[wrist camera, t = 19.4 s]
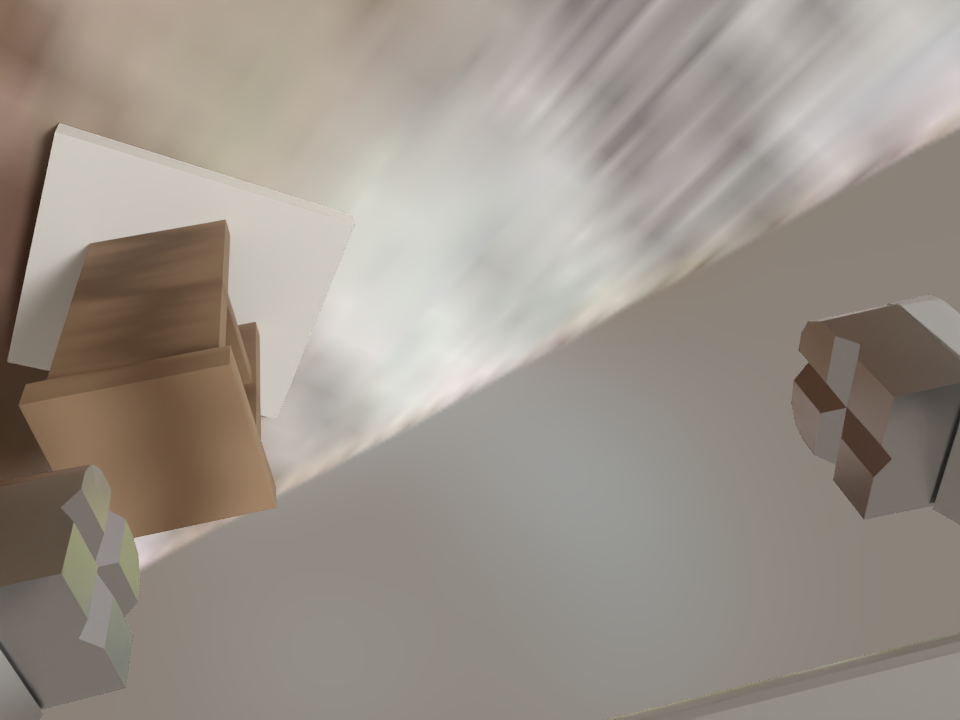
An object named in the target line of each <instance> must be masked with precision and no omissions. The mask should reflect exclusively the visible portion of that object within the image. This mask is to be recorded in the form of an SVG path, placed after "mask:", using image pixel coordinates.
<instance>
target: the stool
mask: <svg viewBox="0 0 960 720" xmlns="http://www.w3.org/2000/svg"><path fill="white" fill-rule="evenodd" d="M229 254H230V232H229V229H228V225H227V222H226V220H220V221H214V222H209V223H203V224H197V225H192V226H186V227H180V228H174V229H169V230H163V231H157V232H152V233H146V234H140V235H135V236H129V237H123V238H117V239H112V240H106V241H100V242H95V243H90V244H89V247H88V250H87V254H86V257H85V260H84V263H83V266H82V269H81V273H80V276H79V279H78V282H77V285H76V288H75V292H74V295H73V298H72V301H71V304H70V307H69V311H68V314H67V317H66V320H65V323H64V326H63V330H62V333H61V336H60V339H59V342H58V345H57V349H56V352H55V355H54V358H53V361H52V364H51V368H50V371H49V374H48V377H47V380H44V381H39V382H34V383H29V384H26V385H25V388H24V391H23V393H22V396H21V399H20V402H19V405H18V406H19V407H20V409H21V411H22V413H23V415H24V417H25V419H26V421H27V423H28V425H29V427H30V429H31V430H32V432H33V434H34V436H35V438H36V440H37V442H38V444H39V446H40V448H41V450H42V451H43V453H44V455H45V457H46V459H47V461H48V463H49V465H50V467H51V469H52V471H56V470H62V469H67V468H73V467H79V466H84V465H90V464H92V465H94V466H97V467H99V468H100V469H101V470H102V472H103V474H104V476H105V478H106V480H107V482H108V484H109V486H110V488H111V490H112V492H111V498H110V503H109V509H108V510H110V511H111V512H113V513H115V514H117V515H119V516H121V517H123V518H124V519H126V521H127V524H128V526H129V528H130V530H131V532H132V535H133V538H136V537H140V536H145V535H150V534H154V533H159V532H164V531H168V530H173V529H178V528H183V527H187V526H192V525H197V524H201V523H206V522H211V521H216V520H220V519H225V518H230V517H234V516H239V515H244V514H248V513H253V512H258V511H263V510H267V509H272V508H276V486H275V483H274V480H273V477H272V474H271V470H270V467H269V464H268V461H267V458H266V455H265V452H264V449H263V445H262V442H261V408H260V334H259V331H258V328H257V324H256V322H252V323H247V324H241V325H238V324H237V321H236V318H235V315H234V311H233V308H232V305H231V302H230V298H229V295H228V277H229Z"/></svg>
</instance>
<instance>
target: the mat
mask: <svg viewBox="0 0 960 720" xmlns="http://www.w3.org/2000/svg"><path fill="white" fill-rule="evenodd" d="M220 220H226V222H227V225H228V229H229V232H230V254H229V277H228V295H229V298H230V302H231V305H232V308H233V311H234V315H235V318H236V321H237V324H238V325H241V324H247V323H252V322H256V324H257V328H258V331H259V334H260V408H261V416H266V417H271V418H275V419H277V417H278V415H279V412H280V410H281V407H282V405H283V402H284V400H285V397H286V395H287V392H288V390H289V387H290V385H291V382H292V380H293V377H294V375H295V372H296V370H297V367H298V365H299V362H300V360H301V357H302V355H303V352H304V350H305V347H306V345H307V342H308V340H309V337H310V335H311V332H312V330H313V327H314V325H315V322H316V320H317V317H318V315H319V312H320V310H321V307H322V305H323V302H324V300H325V297H326V295H327V292H328V290H329V287H330V285H331V282H332V280H333V277H334V275H335V272H336V270H337V267H338V265H339V262H340V260H341V257H342V255H343V252H344V250H345V247H346V245H347V242H348V240H349V237H350V235H351V232H352V230H353V228H354V225H355V223H354V218H353V215H352V214H348V213H345V212H342V211H339V210H336V209H332V208H329V207H326V206H323V205H320V204H316V203H313V202H310V201H307V200H304V199H301V198H297V197H294V196H291V195H288V194H285V193H281V192H278V191H275V190H272V189H269V188H265V187H262V186H259V185H256V184H253V183H250V182H246V181H243V180H240V179H237V178H234V177H230V176H227V175H224V174H221V173H218V172H214V171H211V170H208V169H205V168H202V167H199V166H195V165H192V164H189V163H186V162H183V161H179V160H176V159H173V158H170V157H167V156H163V155H160V154H157V153H154V152H151V151H147V150H144V149H141V148H138V147H135V146H132V145H128V144H125V143H122V142H119V141H116V140H112V139H109V138H106V137H103V136H100V135H96V134H93V133H90V132H87V131H84V130H81V129H77V128H74V127H71V126H68V125H65V124H61V123H59V125H58V127H57V129H56V131H55V134H54V139H53V144H52V149H51V153H50V158H49V163H48V168H47V173H46V177H45V182H44V187H43V192H42V197H41V201H40V206H39V211H38V216H37V221H36V225H35V230H34V235H33V240H32V245H31V249H30V254H29V259H28V264H27V269H26V274H25V278H24V283H23V288H22V293H21V298H20V302H19V307H18V312H17V317H16V322H15V326H14V331H13V336H12V341H11V346H10V350H9V355H8V360H7V362H9V363H14V364H18V365H23V366H28V367H33V368H37V369H42V370H47V371H50V368H51V364H52V361H53V358H54V355H55V352H56V349H57V345H58V342H59V339H60V336H61V333H62V330H63V326H64V323H65V320H66V317H67V314H68V311H69V307H70V304H71V301H72V298H73V295H74V292H75V288H76V285H77V282H78V279H79V276H80V273H81V269H82V266H83V263H84V260H85V257H86V254H87V250H88V247H89V244H90V243H95V242H100V241H106V240H112V239H117V238H123V237H129V236H135V235H140V234H146V233H152V232H157V231H163V230H169V229H174V228H180V227H186V226H192V225H197V224H203V223H209V222H214V221H220Z"/></svg>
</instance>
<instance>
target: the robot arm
mask: <svg viewBox="0 0 960 720" xmlns="http://www.w3.org/2000/svg"><path fill="white" fill-rule="evenodd" d="M799 352H800V353H801V354H802V355H803V357H804V358H805V359H806V361H807V362H808V364H807V365H806V366H805V367H804V369H803V370H802V371H801V372H800V374H799V375H798V376H797V377H796V378H795V380H794V383H793V392H792V393H793V394H792V402H791V403H792V409H793V414H794V419H795V424H796V426H797V429H798V431H799V433H800V435H801V437H802V439H803V441H804V442H805V443H806V445H807V446H808V448H809V449H810V450H811V451H812V453H813V454H814V455H816V456H818V457H820V458H823V459H825V460H827V461H829V462H831V463H834V464H835V471H834V477H833V481H834V482H835V483H836V484H837V486H838V487H839V488H840V489H841V491H842V492H843V493H844V495H845V496H846V497H847V498H848V500H849V501H850V502H851V503H852V505H853V506H854V507H855V509H856V510H857V511H858V513H859V514H860V515H861V516H862V518H863V519H868V518H873V517H878V516H883V515H888V514H894V513H899V512H904V511H909V510H914V509H919V508H924V507H928V506H934V507H933V509H934V510H935V511H937V512H939V513H941V514H942V515H944V516H946V517H948V518H949V519H951V520H953V521H955V522H956V523H958V524H960V314H959V313H958V312H956V311H955V310H954V309H953V308H952V307H950V306H949V305H948V304H947V303H946V302H944V301H943V300H942V299H940V298H937V297H934V296H930V295H926V296H921V297H916V298H912V299H907V300H903V301H899V302H894V303H890V304H888V305H886V306H881V307H876V308H872V309H867V310H862V311H857V312H852V313H847V314H842V315H837V316H832V317H828V318H823V319H818V320H813V321H809V322H808V323H807V324H806V326H805V328H804V329H803V331H802V334H801V339H800V345H799ZM111 492H112V490H111V488H110V486H109V484H108V482H107V480H106V478H105V476H104V474H103V472H102V470H101V469H100V468H99V467H97V466H94V465H92V464H90V465H84V466H79V467H73V468H67V469H62V470H56V471H50V472H45V473H39V474H34V475H28V476H22V477H17V478H11V479H6V480H0V720H39V719H40V718H41V717H42V715H43V711H42V709H45V708H49V707H53V706H57V705H61V704H65V703H69V702H73V701H77V700H81V699H84V698H88V697H92V696H96V695H100V694H104V693H108V692H112V691H116V690H120V689H123V688H126V685H127V677H128V670H129V663H130V656H131V648H132V641H133V634H132V632H131V630H130V628H129V626H128V624H127V622H126V620H125V618H124V617H125V616H126V615H127V614H128V613H129V611H130V610H131V609H132V608H133V607H134V605H135V604H136V603H137V601H138V595H139V586H140V572H139V560H138V552H137V549H136V545H135V542H134V538H133V535H132V532H131V530H130V528H129V526H128V524H127V521H126V519H124V518H123V517H121V516H119V515H117V514H115V513H113V512H111V511H110V510H108V509H109V503H110V498H111ZM606 720H960V632H957V633H953V634H949V635H945V636H941V637H937V638H933V639H929V640H925V641H921V642H917V643H913V644H909V645H905V646H901V647H897V648H893V649H888V650H884V651H880V652H876V653H873V654H868V655H864V656H860V657H857V658H852V659H848V660H845V661H840V662H836V663H832V664H828V665H824V666H820V667H816V668H812V669H808V670H804V671H800V672H796V673H792V674H788V675H784V676H780V677H776V678H772V679H768V680H763V681H759V682H755V683H751V684H747V685H743V686H739V687H736V688H731V689H727V690H723V691H719V692H716V693H711V694H707V695H703V696H699V697H695V698H691V699H687V700H683V701H679V702H674V703H670V704H666V705H662V706H658V707H654V708H651V709H646V710H642V711H638V712H634V713H630V714H626V715H622V716H618V717H614V718H610V719H606Z"/></svg>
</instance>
